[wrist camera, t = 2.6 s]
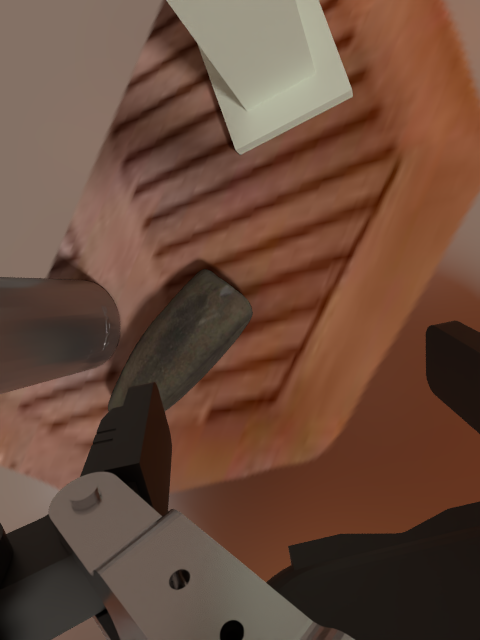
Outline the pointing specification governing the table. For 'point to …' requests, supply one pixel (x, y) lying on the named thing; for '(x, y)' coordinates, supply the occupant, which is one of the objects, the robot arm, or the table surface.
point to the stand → (266, 63)
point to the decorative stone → (185, 339)
